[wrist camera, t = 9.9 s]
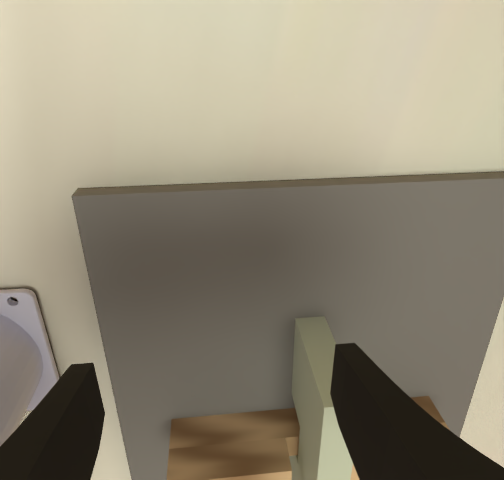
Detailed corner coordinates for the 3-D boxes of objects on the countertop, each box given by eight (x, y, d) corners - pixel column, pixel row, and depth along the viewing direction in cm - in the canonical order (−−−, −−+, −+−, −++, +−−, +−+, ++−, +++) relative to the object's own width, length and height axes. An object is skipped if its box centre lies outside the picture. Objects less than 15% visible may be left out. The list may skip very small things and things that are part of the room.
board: (140, 499, 29) (139, 513, 28) (78, 188, 19) (71, 196, 18) (438, 467, 31) (445, 480, 30) (527, 170, 21) (541, 176, 20)
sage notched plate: (309, 481, 29) (334, 583, 23) (287, 483, 29) (306, 586, 23) (324, 316, 22) (362, 404, 17) (295, 318, 22) (324, 407, 17)
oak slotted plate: (173, 437, 25) (169, 503, 22) (171, 418, 25) (166, 484, 21) (424, 413, 27) (457, 472, 23) (428, 395, 26) (464, 452, 23)
